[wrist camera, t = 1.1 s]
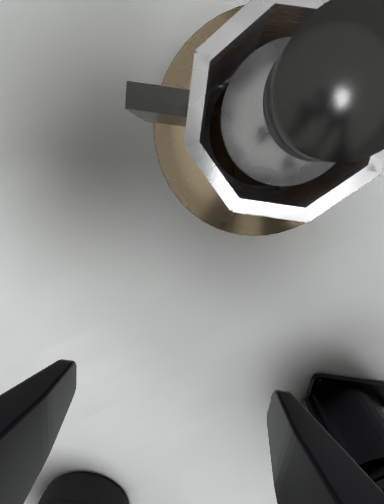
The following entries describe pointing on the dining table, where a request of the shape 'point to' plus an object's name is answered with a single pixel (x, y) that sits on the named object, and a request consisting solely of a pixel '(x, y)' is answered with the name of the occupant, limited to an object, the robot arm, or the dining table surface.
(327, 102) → the dark round knob
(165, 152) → the moka pot
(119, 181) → the dining table surface
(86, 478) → the pen holder
